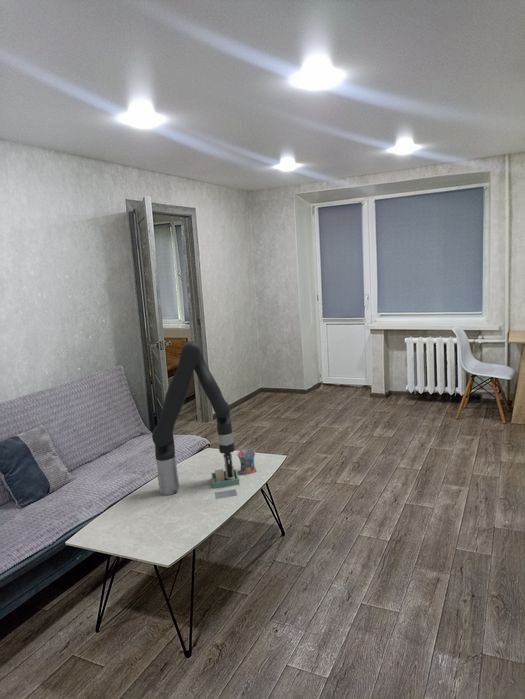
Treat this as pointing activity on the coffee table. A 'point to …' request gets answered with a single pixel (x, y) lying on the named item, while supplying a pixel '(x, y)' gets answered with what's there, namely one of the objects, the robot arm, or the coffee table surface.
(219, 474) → the block
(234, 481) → the green bin
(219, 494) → the slate board
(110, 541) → the coffee table surface
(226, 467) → the stone right
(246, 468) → the floral patterned vase
